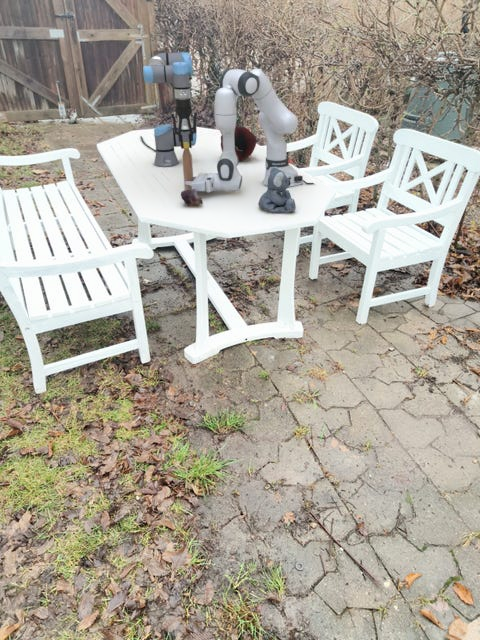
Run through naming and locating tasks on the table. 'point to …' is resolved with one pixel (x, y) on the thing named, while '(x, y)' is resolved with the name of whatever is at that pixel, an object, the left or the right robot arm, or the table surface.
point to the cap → (186, 145)
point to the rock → (191, 197)
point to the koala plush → (277, 193)
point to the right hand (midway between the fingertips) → (187, 180)
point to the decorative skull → (243, 142)
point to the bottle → (187, 167)
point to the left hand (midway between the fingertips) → (186, 147)
